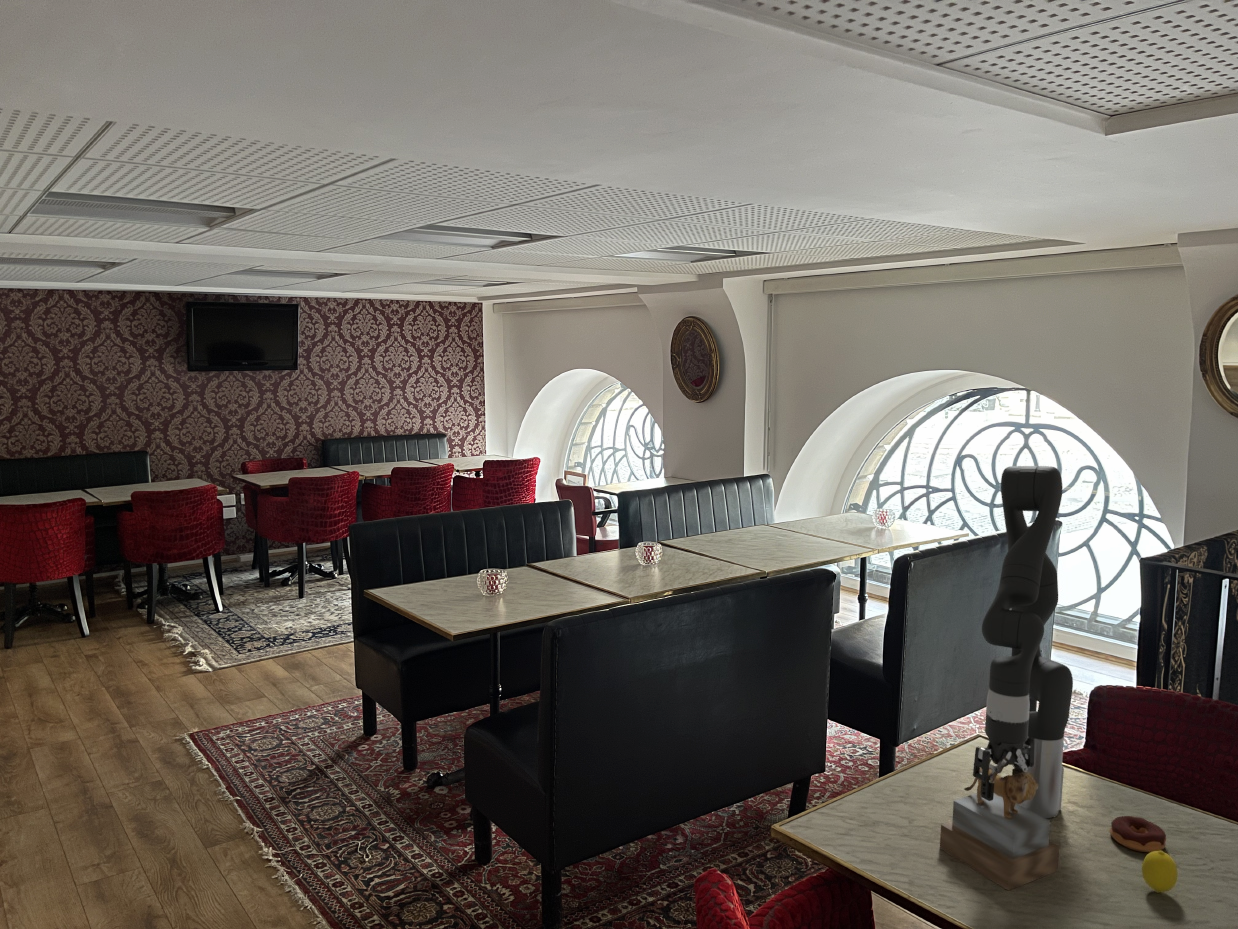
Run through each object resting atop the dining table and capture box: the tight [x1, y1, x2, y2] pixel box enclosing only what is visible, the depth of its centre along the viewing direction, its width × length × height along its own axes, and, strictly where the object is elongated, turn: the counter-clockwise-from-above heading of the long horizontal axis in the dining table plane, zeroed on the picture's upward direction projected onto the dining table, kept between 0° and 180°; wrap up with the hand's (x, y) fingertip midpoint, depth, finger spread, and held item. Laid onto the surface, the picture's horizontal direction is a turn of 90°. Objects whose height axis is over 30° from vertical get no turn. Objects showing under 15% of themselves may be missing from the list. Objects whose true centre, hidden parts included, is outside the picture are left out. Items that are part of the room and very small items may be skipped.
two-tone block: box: [939, 792, 1061, 891], centre depth 175 cm, size 14×16×10 cm
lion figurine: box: [963, 768, 1038, 818], centre depth 175 cm, size 15×5×9 cm, turn 35°
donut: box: [1109, 815, 1167, 853], centre depth 183 cm, size 10×10×4 cm
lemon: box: [1141, 850, 1178, 894], centre depth 165 cm, size 6×6×8 cm
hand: (1002, 794), depth 174 cm, fingers open, 8 cm apart
